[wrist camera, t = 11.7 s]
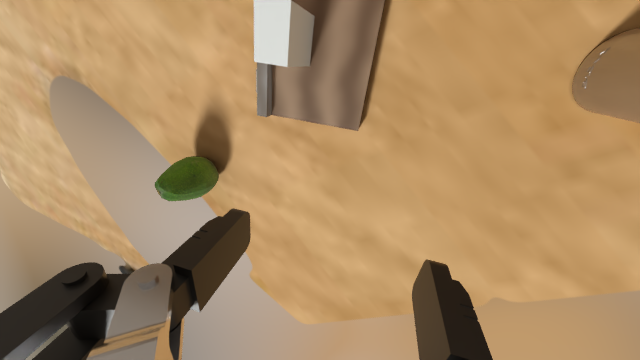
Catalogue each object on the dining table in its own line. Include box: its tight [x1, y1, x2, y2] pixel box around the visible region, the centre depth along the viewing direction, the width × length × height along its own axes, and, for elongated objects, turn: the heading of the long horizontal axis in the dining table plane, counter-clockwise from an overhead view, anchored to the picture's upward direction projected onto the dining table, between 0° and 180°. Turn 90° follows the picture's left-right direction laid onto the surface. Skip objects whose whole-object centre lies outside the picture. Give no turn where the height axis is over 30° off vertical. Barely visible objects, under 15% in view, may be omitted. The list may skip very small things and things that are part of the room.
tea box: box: [254, 0, 315, 67], centre depth 29 cm, size 6×4×9 cm
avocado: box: [155, 156, 219, 201], centre depth 44 cm, size 8×8×12 cm
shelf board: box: [256, 0, 385, 131], centre depth 33 cm, size 16×20×4 cm
